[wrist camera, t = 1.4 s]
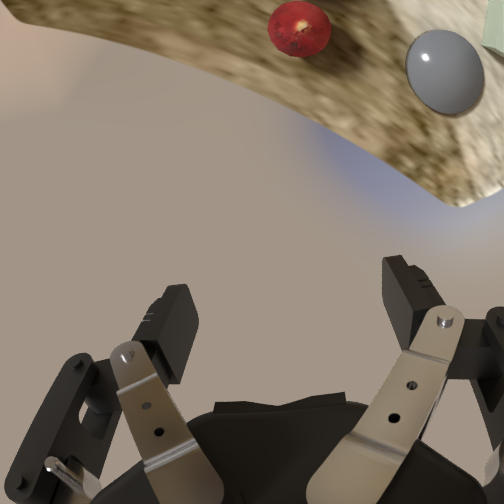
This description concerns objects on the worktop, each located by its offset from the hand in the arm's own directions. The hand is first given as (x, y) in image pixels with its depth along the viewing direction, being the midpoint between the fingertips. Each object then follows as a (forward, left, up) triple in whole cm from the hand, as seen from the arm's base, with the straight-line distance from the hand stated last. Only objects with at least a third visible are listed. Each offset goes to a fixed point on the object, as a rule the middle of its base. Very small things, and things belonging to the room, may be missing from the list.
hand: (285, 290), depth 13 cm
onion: (-10, 0, -26) cm, 28 cm away
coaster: (-10, +17, -26) cm, 33 cm away
